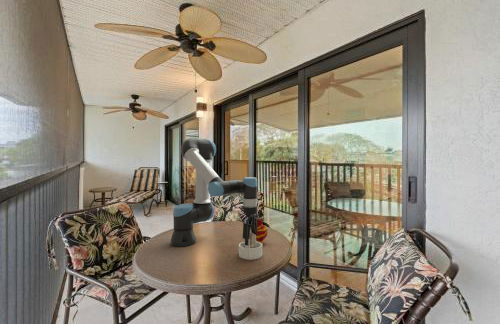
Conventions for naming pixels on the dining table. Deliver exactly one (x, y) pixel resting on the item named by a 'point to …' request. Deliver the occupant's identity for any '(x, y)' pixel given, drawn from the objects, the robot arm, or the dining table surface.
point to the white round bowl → (250, 251)
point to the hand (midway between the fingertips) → (250, 248)
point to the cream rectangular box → (251, 240)
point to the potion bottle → (261, 231)
